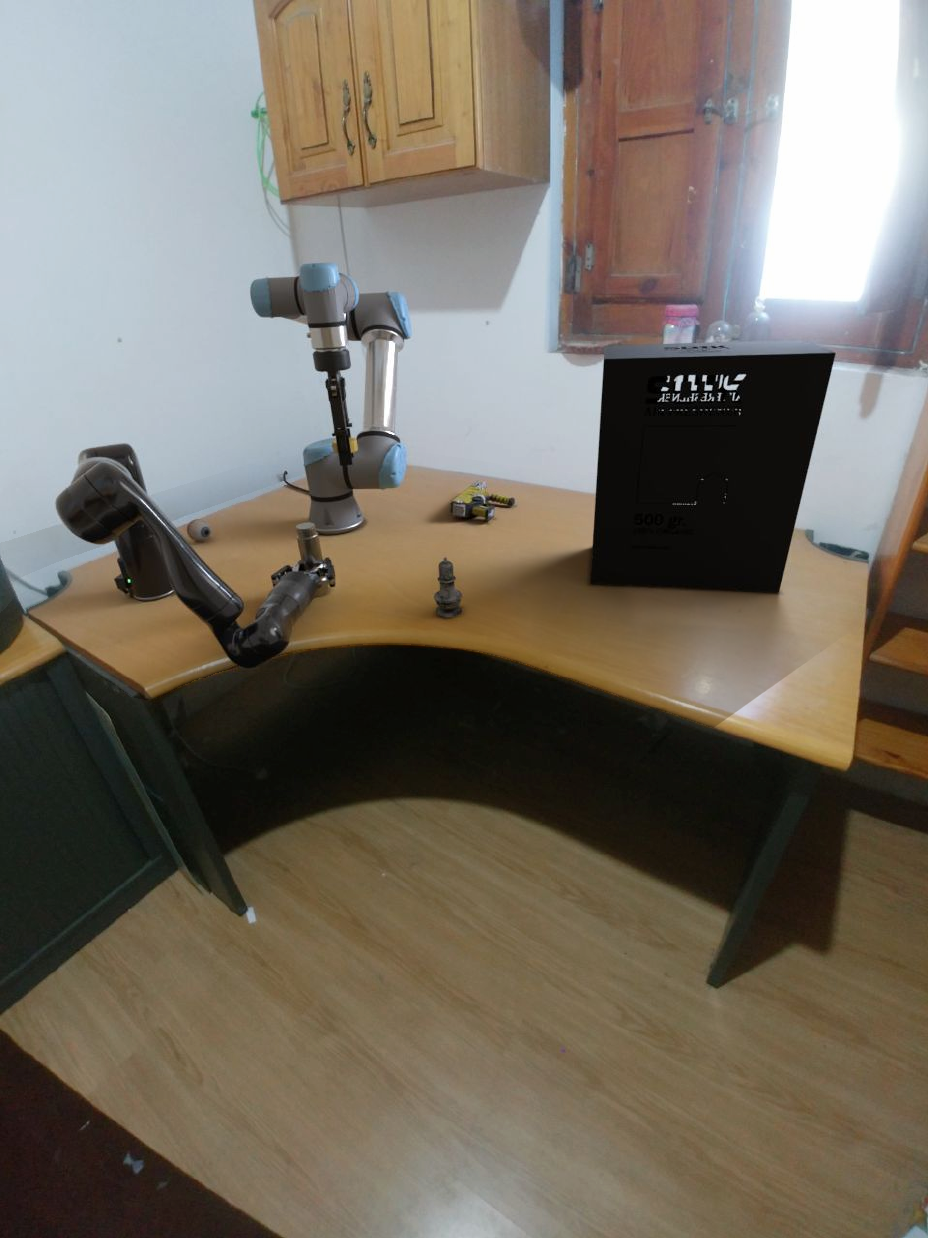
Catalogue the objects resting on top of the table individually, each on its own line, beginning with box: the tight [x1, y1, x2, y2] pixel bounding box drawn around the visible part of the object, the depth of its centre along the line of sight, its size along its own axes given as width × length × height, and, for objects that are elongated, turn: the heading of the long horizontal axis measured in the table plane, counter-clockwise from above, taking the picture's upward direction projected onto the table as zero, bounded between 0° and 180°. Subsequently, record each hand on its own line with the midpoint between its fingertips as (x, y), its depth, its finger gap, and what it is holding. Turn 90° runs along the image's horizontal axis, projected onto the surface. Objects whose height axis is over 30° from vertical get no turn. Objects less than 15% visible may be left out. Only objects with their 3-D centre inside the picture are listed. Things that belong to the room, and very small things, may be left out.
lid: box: [332, 436, 358, 454], centre depth 134 cm, size 6×6×2 cm
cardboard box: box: [590, 338, 837, 594], centre depth 124 cm, size 38×20×45 cm, turn 78°
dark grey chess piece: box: [433, 556, 463, 618], centre depth 120 cm, size 6×6×12 cm
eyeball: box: [186, 518, 212, 542], centre depth 162 cm, size 6×6×6 cm
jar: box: [295, 522, 329, 598], centre depth 130 cm, size 4×4×16 cm
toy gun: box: [449, 480, 516, 522], centre depth 174 cm, size 5×24×15 cm
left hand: (317, 561), depth 133 cm, fingers closed on jar, 4 cm apart
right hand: (347, 460), depth 136 cm, fingers closed on lid, 5 cm apart
